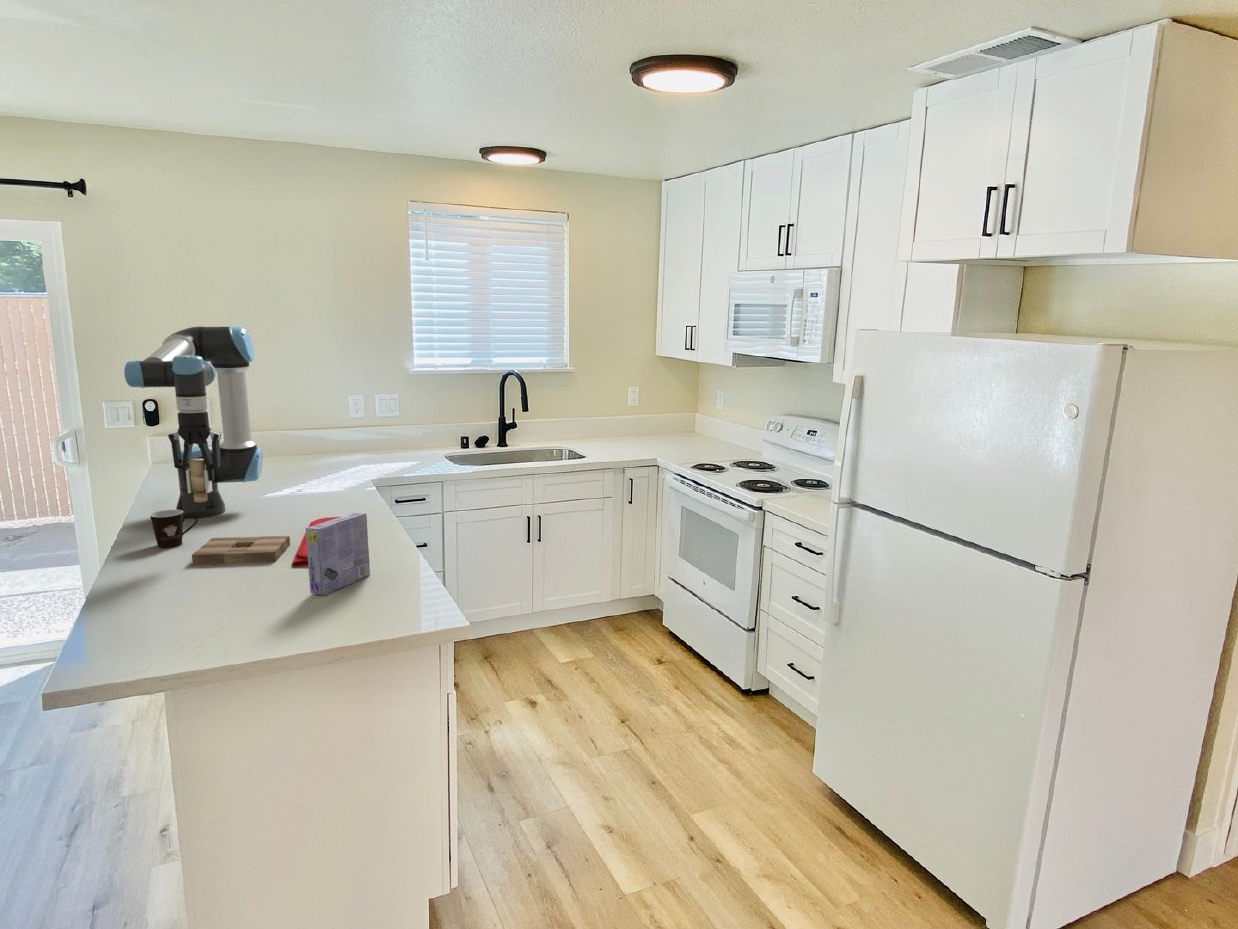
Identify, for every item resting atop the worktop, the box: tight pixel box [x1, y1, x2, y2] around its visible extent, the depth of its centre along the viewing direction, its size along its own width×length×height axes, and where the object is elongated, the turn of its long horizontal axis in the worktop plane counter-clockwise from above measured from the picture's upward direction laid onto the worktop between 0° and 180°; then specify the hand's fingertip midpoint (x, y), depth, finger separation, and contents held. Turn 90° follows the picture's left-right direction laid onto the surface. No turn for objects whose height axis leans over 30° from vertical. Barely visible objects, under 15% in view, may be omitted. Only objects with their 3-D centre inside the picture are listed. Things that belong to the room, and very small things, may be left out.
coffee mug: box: [149, 509, 198, 549], centre depth 227 cm, size 12×9×10 cm
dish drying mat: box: [291, 516, 341, 568], centre depth 231 cm, size 16×41×4 cm, turn 15°
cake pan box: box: [305, 512, 371, 597], centre depth 197 cm, size 19×5×18 cm, turn 159°
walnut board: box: [191, 535, 291, 566], centre depth 220 cm, size 16×22×3 cm
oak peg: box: [189, 459, 208, 502], centre depth 214 cm, size 4×4×12 cm
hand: (200, 491), depth 215 cm, fingers closed on oak peg, 4 cm apart
